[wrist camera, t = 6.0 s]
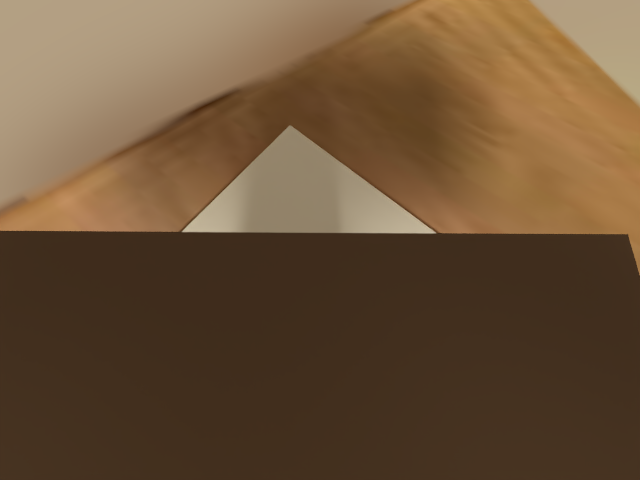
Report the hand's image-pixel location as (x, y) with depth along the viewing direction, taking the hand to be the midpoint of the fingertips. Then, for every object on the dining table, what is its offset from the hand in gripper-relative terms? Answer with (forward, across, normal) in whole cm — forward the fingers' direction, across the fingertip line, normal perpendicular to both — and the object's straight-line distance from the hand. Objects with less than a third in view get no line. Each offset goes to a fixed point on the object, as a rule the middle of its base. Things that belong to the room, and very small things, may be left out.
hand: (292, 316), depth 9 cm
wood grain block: (+4, 0, +6) cm, 7 cm away
